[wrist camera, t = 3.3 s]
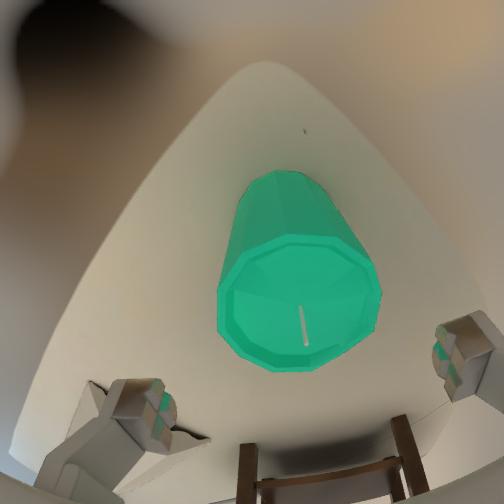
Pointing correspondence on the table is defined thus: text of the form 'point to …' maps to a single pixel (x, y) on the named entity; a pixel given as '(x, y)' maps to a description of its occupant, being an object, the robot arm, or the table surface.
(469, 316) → the robot arm
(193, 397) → the table surface
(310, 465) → the table surface
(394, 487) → the stand
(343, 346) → the candle
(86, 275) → the table surface
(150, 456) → the molding piece
